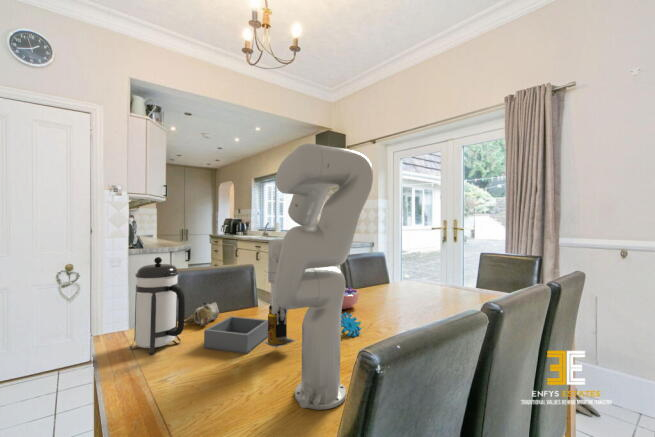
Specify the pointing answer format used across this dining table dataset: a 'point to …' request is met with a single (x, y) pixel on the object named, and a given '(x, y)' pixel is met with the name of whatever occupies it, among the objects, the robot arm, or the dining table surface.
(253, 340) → the bin
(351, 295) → the cell model
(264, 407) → the dining table surface
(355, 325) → the blue gear toy
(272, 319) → the condiment
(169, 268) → the coffee press
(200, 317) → the ceramic sculpture
